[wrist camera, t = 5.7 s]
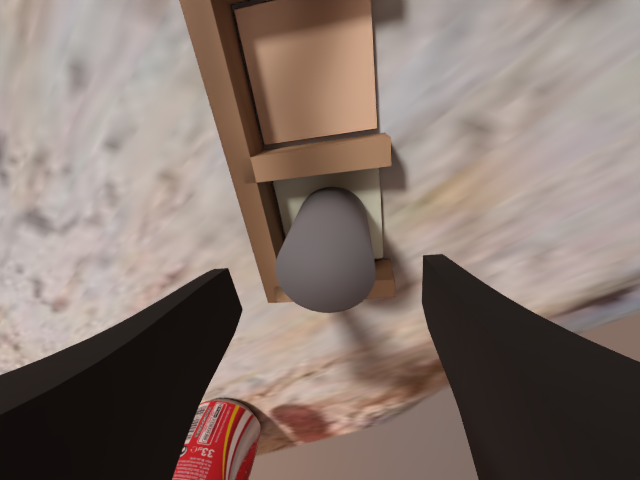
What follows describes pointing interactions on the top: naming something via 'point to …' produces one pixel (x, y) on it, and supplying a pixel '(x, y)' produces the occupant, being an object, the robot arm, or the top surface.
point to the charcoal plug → (328, 253)
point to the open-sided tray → (293, 113)
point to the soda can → (219, 443)
